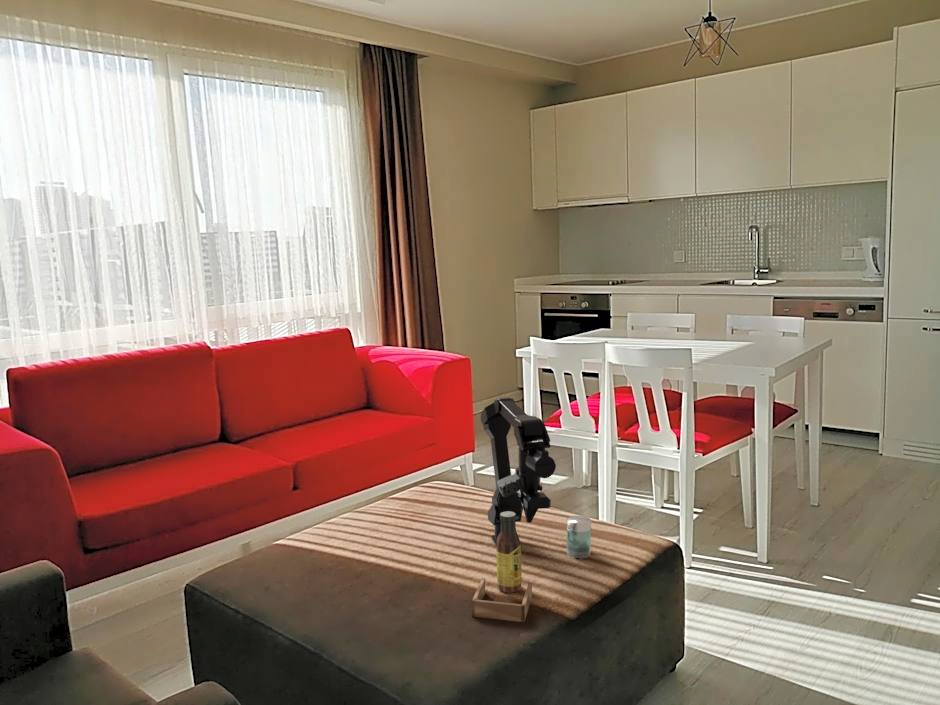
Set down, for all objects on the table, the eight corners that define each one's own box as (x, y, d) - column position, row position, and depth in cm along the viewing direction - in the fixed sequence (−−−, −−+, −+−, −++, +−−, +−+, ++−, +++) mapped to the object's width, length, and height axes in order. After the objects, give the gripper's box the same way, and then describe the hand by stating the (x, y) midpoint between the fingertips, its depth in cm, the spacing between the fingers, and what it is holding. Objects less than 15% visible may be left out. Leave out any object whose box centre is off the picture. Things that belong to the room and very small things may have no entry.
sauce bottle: (519, 595, 197) (517, 520, 193) (494, 592, 199) (492, 518, 195) (523, 582, 203) (522, 510, 200) (500, 580, 205) (498, 508, 201)
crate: (482, 592, 199) (482, 578, 198) (531, 598, 196) (531, 583, 195) (471, 616, 187) (471, 600, 187) (524, 622, 185) (524, 606, 184)
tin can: (563, 550, 223) (563, 516, 221) (585, 547, 224) (586, 514, 223) (571, 560, 217) (571, 526, 215) (594, 557, 218) (594, 523, 216)
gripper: (491, 457, 214) (491, 511, 217) (509, 480, 196) (508, 539, 199) (530, 454, 217) (529, 508, 220) (551, 476, 199) (550, 535, 202)
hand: (528, 522), depth 210 cm, fingers closed
